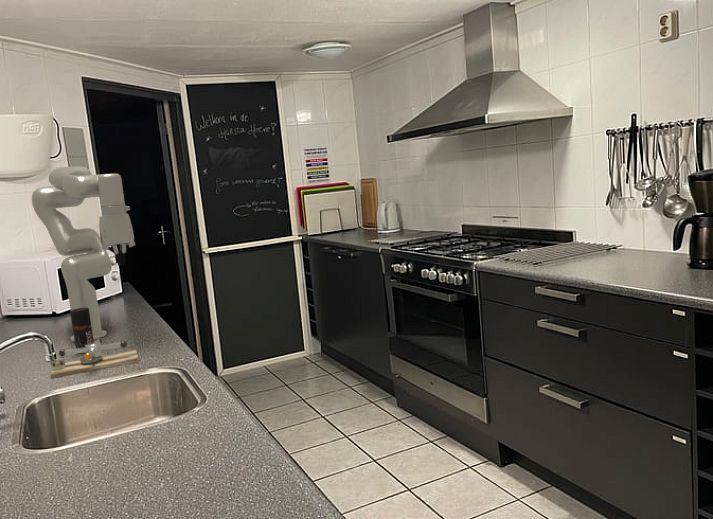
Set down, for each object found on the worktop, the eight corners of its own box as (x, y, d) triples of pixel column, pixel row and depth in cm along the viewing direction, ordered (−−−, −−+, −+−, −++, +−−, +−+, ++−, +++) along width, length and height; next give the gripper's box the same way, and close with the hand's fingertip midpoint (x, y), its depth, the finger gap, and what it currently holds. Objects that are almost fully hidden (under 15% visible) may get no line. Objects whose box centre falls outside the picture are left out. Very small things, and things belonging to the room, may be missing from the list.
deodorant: (88, 354, 203) (81, 311, 201) (72, 354, 205) (66, 312, 202) (98, 349, 209) (92, 307, 207) (83, 349, 210) (77, 307, 208)
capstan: (132, 347, 202) (130, 331, 201) (124, 364, 182) (122, 347, 181) (68, 356, 197) (65, 340, 196) (52, 375, 178) (49, 357, 177)
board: (53, 368, 190) (51, 356, 189) (136, 353, 200) (134, 341, 199) (51, 378, 180) (49, 365, 179) (138, 361, 190) (137, 349, 189)
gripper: (133, 208, 208) (140, 260, 210) (87, 213, 199) (95, 267, 202) (139, 208, 201) (146, 262, 204) (92, 213, 193) (100, 269, 196)
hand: (121, 264), depth 203 cm, fingers closed
